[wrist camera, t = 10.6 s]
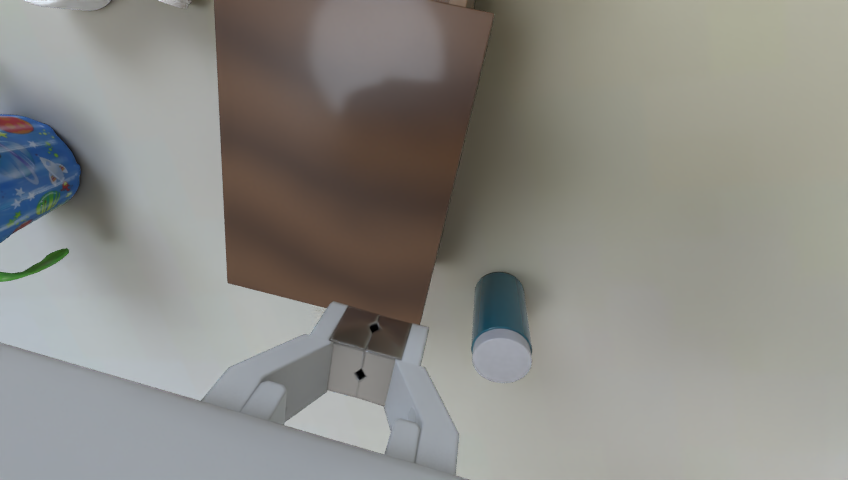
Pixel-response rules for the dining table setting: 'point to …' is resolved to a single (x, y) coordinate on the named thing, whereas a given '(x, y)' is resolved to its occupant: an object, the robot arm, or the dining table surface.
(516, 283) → the salt shaker
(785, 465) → the dining table surface
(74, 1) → the white brass knuckles
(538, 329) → the dining table surface
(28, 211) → the snack cup
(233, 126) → the cabinet
